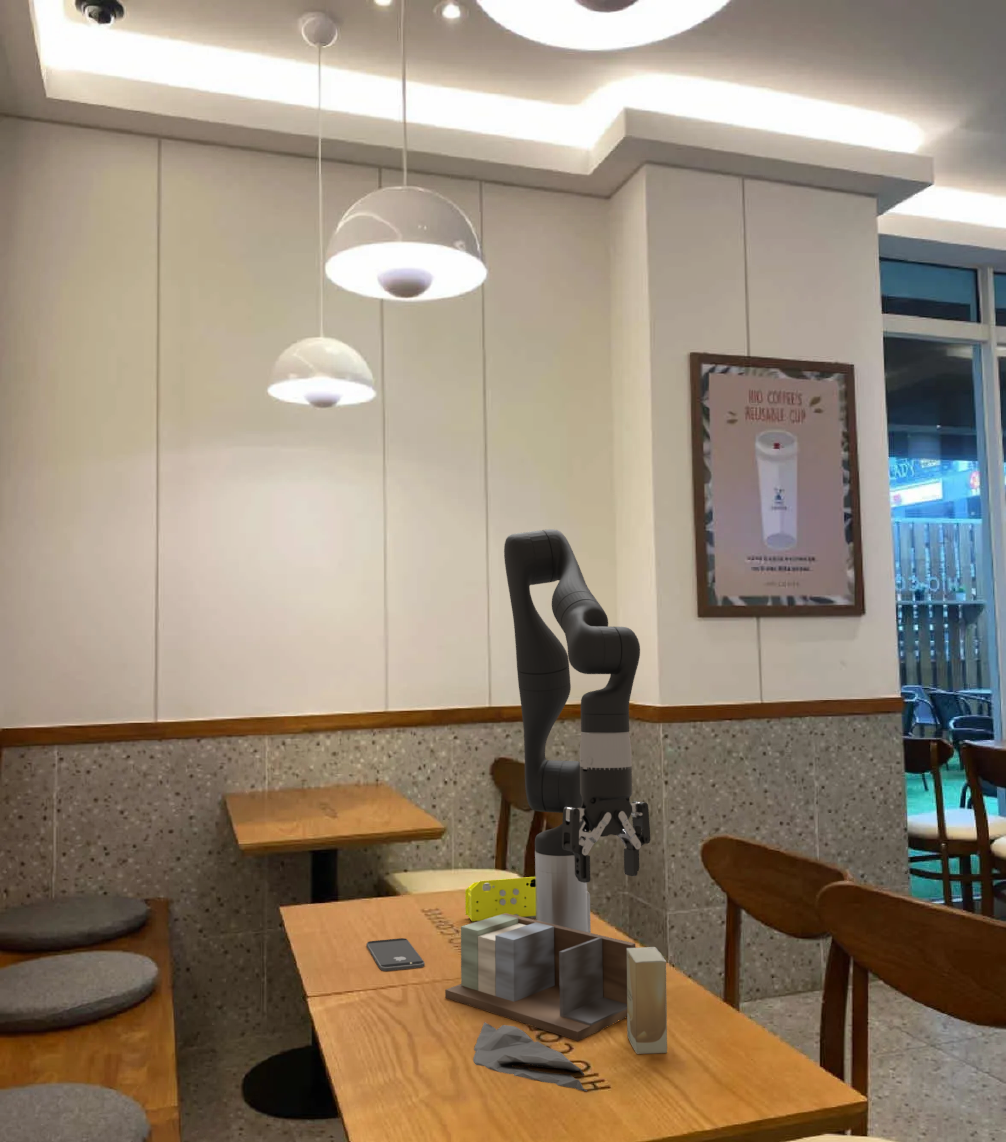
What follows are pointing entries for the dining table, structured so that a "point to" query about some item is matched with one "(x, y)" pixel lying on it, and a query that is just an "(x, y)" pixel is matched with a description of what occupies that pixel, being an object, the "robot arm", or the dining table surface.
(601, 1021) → the book shelf
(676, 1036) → the dining table surface
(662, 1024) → the skincare box
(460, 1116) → the dining table surface
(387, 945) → the phone
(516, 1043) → the cloth
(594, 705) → the robot arm
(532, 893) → the yellow toy chassis
